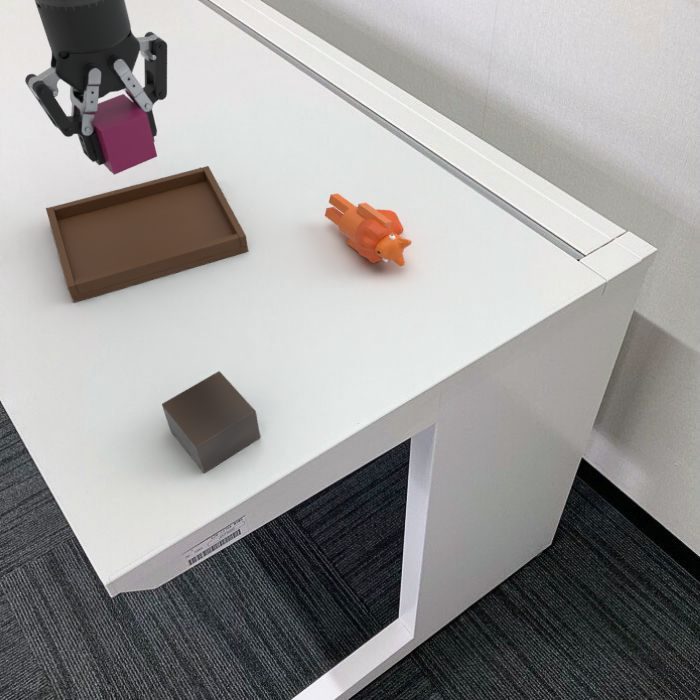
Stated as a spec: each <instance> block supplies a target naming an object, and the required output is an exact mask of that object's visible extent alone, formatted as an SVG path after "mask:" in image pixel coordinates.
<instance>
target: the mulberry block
mask: <svg viewBox="0 0 700 700" xmlns="http://www.w3.org/2000/svg"><path fill="white" fill-rule="evenodd" d="M94 131H95V132H96V133H97V135H98V138H99V142H100V145H101V148H102V151H103V155H104V158H105V161H106V163H104V164H103V165H104V166H105V167H106V168H107V169H108V171H109V172H110V173H112V174H113V176H115V175H118V174H120V173H122V172H125V171H127V170H129V169H132V168H134V167H136V166H139V165H140V164H143V163H145V162H147V161H150V160H153V159H154V158H157V157H158V153H157V149H156V145H155V142H154V141H155V140H154V141H153V137H152V133H151V129H150V125H149V120H148V116H147V114H146V113H145V112H144V111H143V110H142V109H141V108H139V107H138V106H137V105H136V104H135V103H134V102H133V101H132V100H131V99H130V98H129V96H128V95H125V93H122V94H119V95H117V96H115V97H112V98H109V99H107V100H103V101H101V102H98V109H97V113H95V117H94Z"/></svg>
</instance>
